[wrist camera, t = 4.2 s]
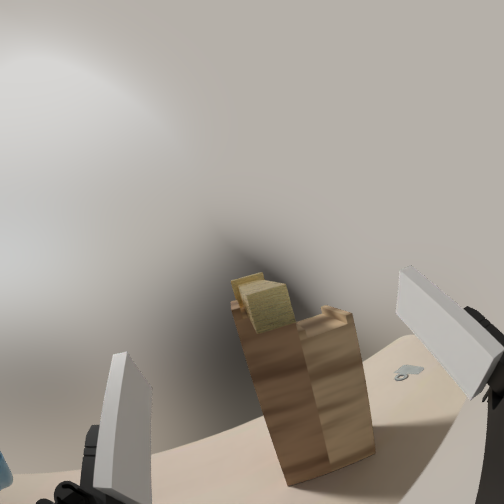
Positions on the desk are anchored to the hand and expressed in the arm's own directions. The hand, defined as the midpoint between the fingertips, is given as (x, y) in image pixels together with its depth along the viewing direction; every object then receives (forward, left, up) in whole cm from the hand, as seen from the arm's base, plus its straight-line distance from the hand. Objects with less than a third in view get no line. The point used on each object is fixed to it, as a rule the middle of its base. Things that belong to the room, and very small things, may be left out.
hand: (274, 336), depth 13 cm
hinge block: (-1, +22, -26) cm, 34 cm away
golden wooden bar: (-4, +19, -2) cm, 20 cm away
